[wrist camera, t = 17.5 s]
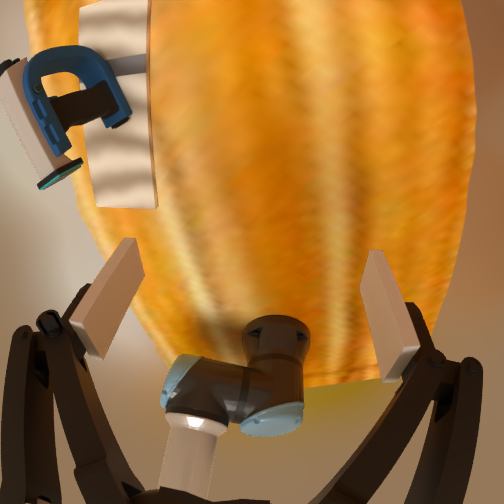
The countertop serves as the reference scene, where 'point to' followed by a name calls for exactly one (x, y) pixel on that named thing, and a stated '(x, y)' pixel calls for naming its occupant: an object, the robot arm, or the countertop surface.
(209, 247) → the countertop surface
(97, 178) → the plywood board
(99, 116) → the handheld scanner
